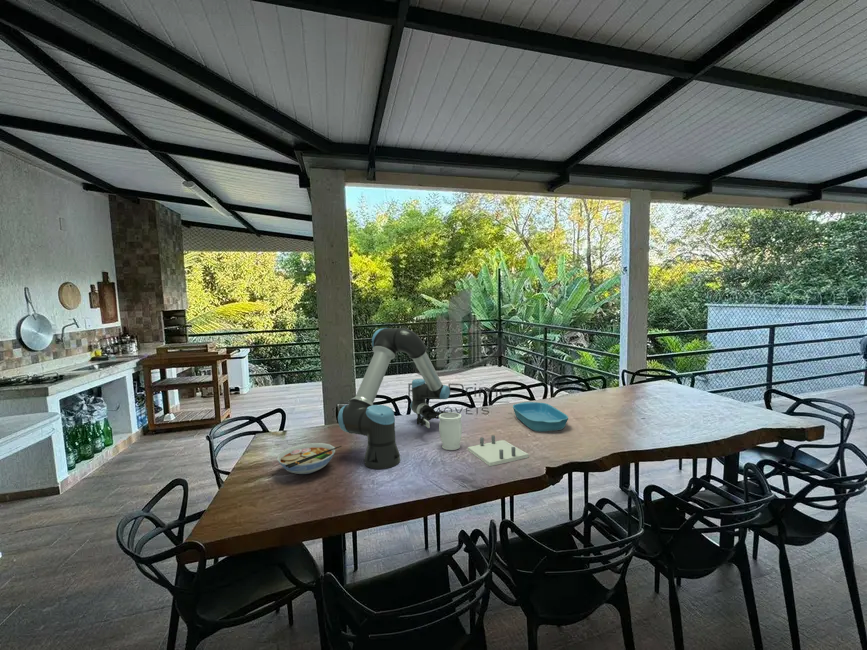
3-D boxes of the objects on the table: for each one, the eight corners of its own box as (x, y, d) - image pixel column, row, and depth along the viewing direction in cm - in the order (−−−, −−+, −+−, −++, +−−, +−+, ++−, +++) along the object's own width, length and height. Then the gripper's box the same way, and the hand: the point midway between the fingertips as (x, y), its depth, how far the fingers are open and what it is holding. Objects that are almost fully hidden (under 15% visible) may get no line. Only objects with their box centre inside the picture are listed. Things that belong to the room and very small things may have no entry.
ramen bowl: (317, 454, 175) (316, 436, 175) (349, 466, 161) (348, 447, 160) (264, 474, 156) (263, 454, 155) (295, 490, 141) (293, 468, 141)
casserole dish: (575, 432, 192) (575, 418, 191) (533, 436, 188) (533, 422, 188) (543, 412, 228) (543, 400, 228) (507, 415, 225) (507, 403, 224)
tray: (489, 466, 156) (489, 454, 156) (467, 450, 173) (467, 439, 173) (528, 457, 163) (528, 446, 163) (503, 442, 181) (503, 432, 180)
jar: (437, 450, 174) (436, 418, 173) (442, 442, 184) (441, 411, 183) (460, 452, 172) (459, 419, 171) (464, 443, 182) (463, 412, 181)
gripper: (447, 415, 211) (465, 426, 192) (404, 422, 201) (418, 435, 182) (446, 401, 211) (464, 411, 191) (403, 408, 201) (417, 419, 181)
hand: (442, 423), depth 186 cm, fingers open, 13 cm apart
